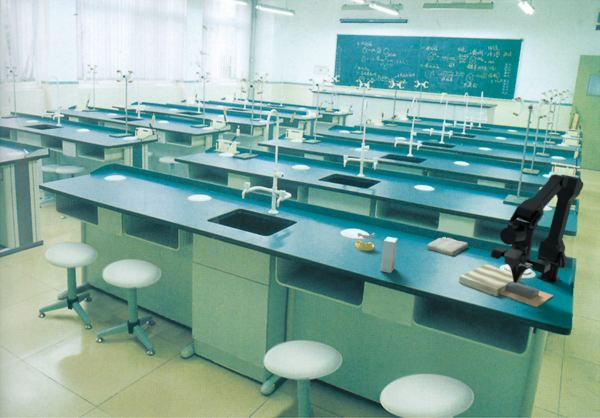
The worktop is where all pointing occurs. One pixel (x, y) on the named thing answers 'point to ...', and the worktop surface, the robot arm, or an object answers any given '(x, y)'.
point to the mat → (534, 302)
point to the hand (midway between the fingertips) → (515, 282)
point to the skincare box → (388, 254)
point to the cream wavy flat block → (488, 279)
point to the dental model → (365, 246)
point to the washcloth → (447, 246)
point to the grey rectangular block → (522, 290)
